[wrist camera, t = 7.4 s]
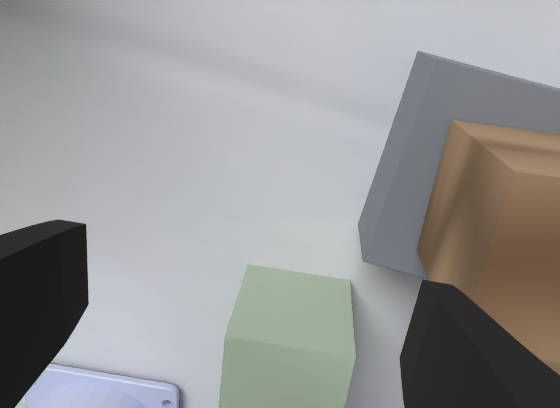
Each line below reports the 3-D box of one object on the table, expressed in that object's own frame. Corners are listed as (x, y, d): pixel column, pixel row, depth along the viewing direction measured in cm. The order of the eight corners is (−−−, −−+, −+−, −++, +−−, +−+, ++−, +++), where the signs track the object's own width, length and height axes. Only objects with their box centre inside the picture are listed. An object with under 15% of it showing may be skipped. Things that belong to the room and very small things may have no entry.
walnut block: (549, 269, 16) (645, 375, 11) (416, 249, 16) (456, 347, 11) (600, 139, 14) (738, 202, 9) (451, 119, 14) (514, 171, 9)
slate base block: (519, 263, 20) (556, 312, 16) (357, 220, 20) (362, 261, 16) (604, 100, 17) (668, 120, 14) (416, 50, 17) (436, 59, 14)
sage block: (333, 360, 22) (334, 451, 17) (240, 345, 22) (216, 432, 18) (349, 279, 20) (355, 357, 16) (248, 263, 21) (225, 336, 16)
